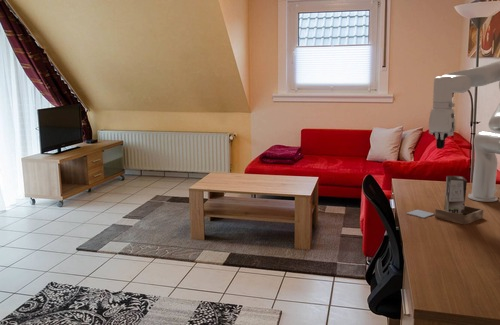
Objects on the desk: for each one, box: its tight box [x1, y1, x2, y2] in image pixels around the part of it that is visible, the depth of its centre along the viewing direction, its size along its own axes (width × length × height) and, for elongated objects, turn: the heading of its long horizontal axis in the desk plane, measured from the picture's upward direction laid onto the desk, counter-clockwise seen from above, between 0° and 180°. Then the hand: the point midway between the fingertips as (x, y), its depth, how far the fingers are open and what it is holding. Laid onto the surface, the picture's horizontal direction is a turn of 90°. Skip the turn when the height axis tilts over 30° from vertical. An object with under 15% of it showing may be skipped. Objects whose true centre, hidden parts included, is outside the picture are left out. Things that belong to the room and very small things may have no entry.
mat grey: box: [406, 209, 435, 219], centre depth 202 cm, size 8×8×1 cm
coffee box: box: [443, 175, 468, 215], centre depth 198 cm, size 9×6×16 cm
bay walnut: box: [434, 205, 484, 226], centre depth 197 cm, size 14×13×4 cm
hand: (440, 148), depth 210 cm, fingers closed
